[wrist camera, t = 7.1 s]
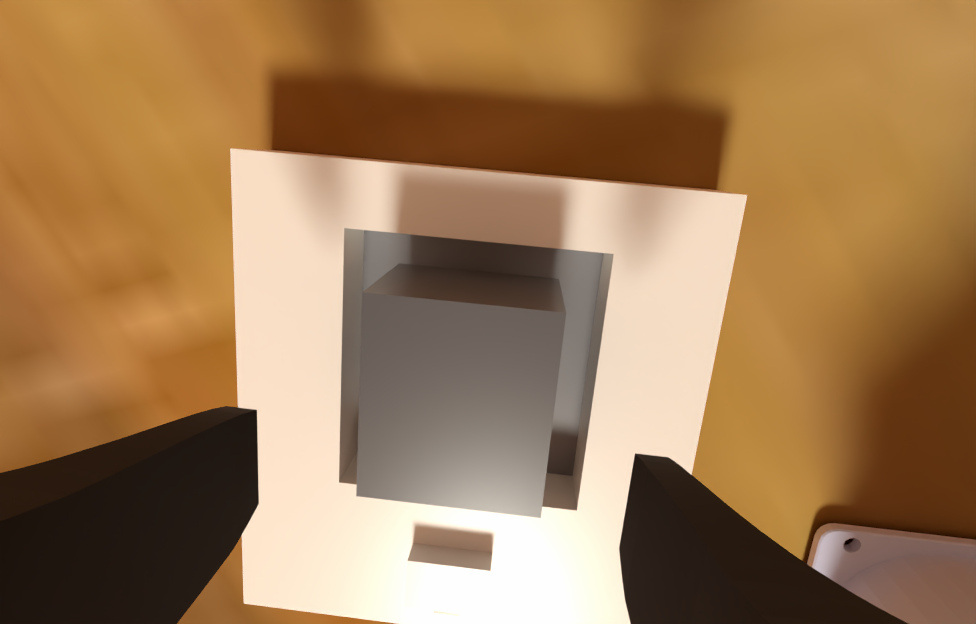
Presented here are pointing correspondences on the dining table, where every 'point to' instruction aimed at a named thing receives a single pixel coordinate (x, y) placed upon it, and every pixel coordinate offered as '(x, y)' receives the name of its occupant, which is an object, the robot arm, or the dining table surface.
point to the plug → (458, 388)
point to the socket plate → (580, 390)
